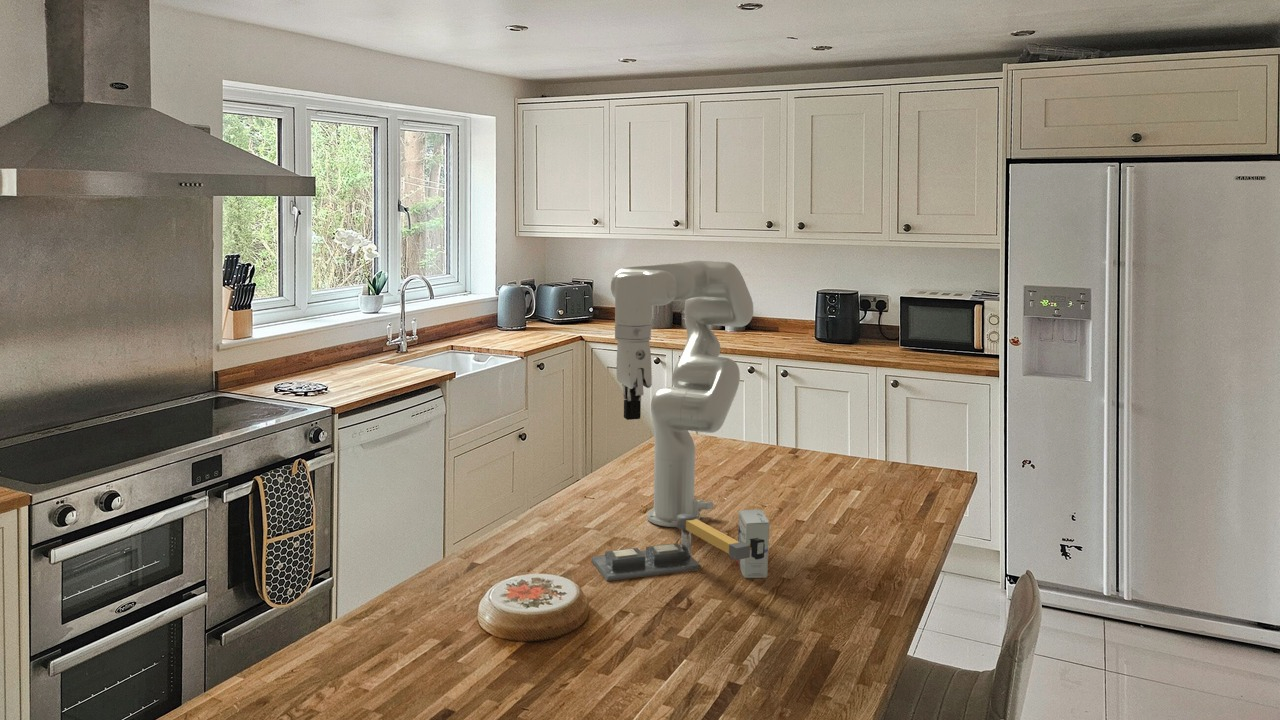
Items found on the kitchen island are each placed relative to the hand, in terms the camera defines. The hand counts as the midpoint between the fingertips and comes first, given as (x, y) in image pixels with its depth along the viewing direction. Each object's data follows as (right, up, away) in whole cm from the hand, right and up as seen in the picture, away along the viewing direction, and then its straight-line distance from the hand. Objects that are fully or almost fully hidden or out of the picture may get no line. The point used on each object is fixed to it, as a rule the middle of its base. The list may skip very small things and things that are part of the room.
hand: (632, 418), depth 205 cm
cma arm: (+16, -24, -10) cm, 30 cm away
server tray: (+3, -30, -4) cm, 31 cm away
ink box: (+25, -31, -6) cm, 40 cm away
